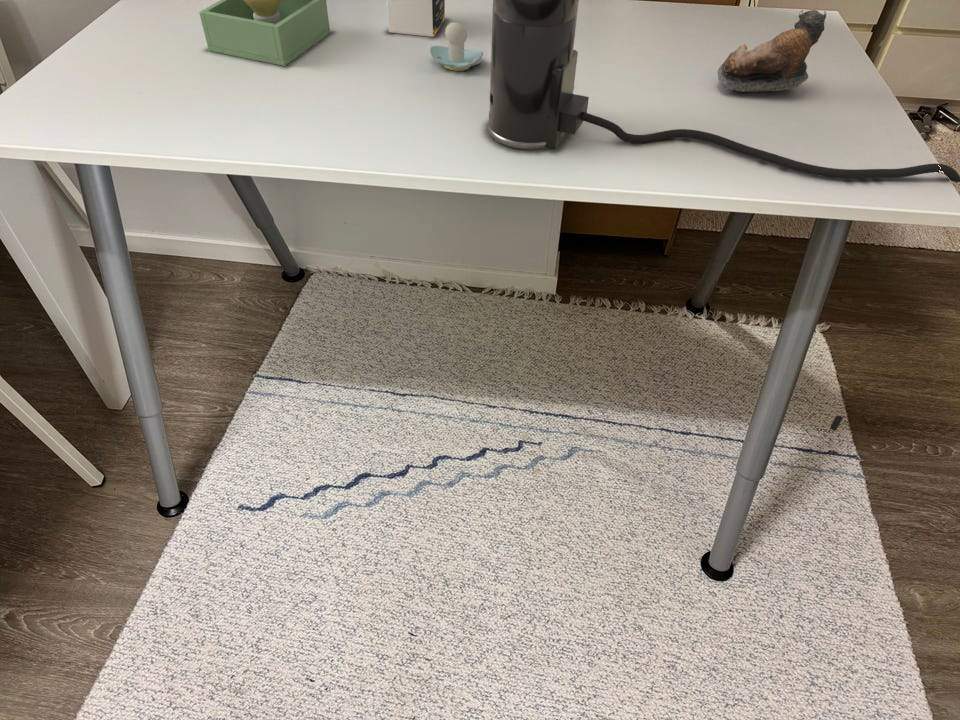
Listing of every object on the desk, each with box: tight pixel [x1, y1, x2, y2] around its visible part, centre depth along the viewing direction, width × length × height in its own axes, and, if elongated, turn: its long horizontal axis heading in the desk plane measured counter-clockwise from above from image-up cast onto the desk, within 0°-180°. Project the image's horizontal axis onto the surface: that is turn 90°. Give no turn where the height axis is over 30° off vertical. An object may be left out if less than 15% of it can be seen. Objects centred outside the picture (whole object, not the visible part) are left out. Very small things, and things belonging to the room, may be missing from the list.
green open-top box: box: [198, 0, 331, 67], centre depth 104 cm, size 13×13×5 cm
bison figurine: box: [717, 9, 827, 93], centre depth 95 cm, size 12×7×10 cm, turn 93°
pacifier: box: [429, 21, 484, 72], centre depth 100 cm, size 7×6×6 cm
